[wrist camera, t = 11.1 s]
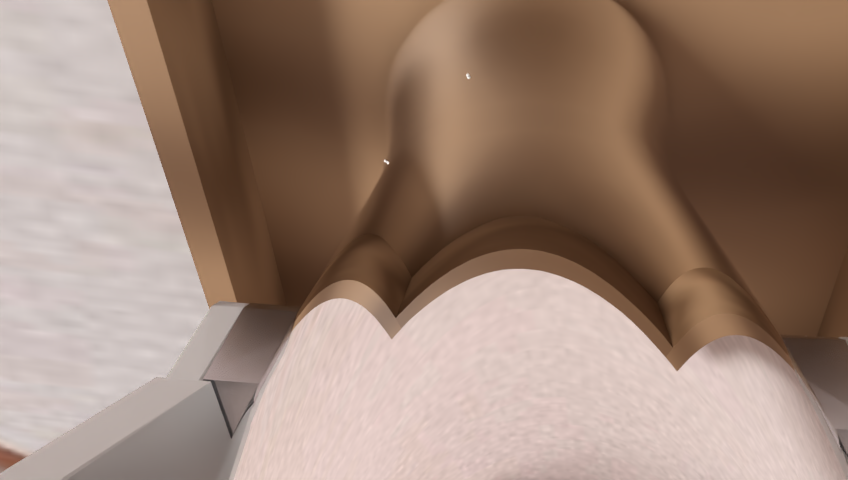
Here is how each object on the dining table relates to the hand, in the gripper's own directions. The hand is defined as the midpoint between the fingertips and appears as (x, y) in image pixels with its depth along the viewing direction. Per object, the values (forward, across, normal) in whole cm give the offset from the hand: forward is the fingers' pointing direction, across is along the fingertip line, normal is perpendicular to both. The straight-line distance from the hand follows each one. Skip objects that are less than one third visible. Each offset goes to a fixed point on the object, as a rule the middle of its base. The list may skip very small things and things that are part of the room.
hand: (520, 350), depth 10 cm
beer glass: (+7, 0, 0) cm, 7 cm away
